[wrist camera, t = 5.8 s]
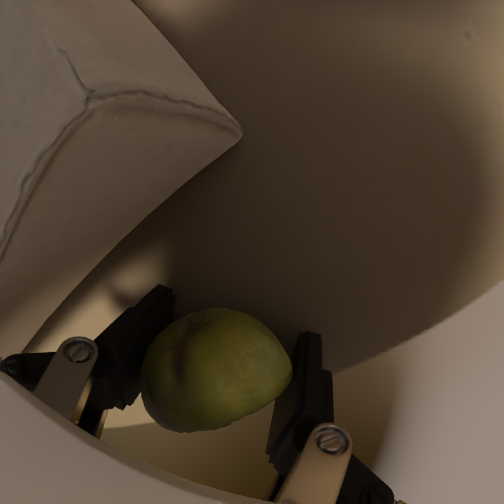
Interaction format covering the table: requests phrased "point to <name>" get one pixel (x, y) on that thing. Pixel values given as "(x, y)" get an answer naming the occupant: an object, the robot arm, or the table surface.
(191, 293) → the table surface
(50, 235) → the box
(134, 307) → the robot arm
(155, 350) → the lime
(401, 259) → the table surface
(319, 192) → the table surface
